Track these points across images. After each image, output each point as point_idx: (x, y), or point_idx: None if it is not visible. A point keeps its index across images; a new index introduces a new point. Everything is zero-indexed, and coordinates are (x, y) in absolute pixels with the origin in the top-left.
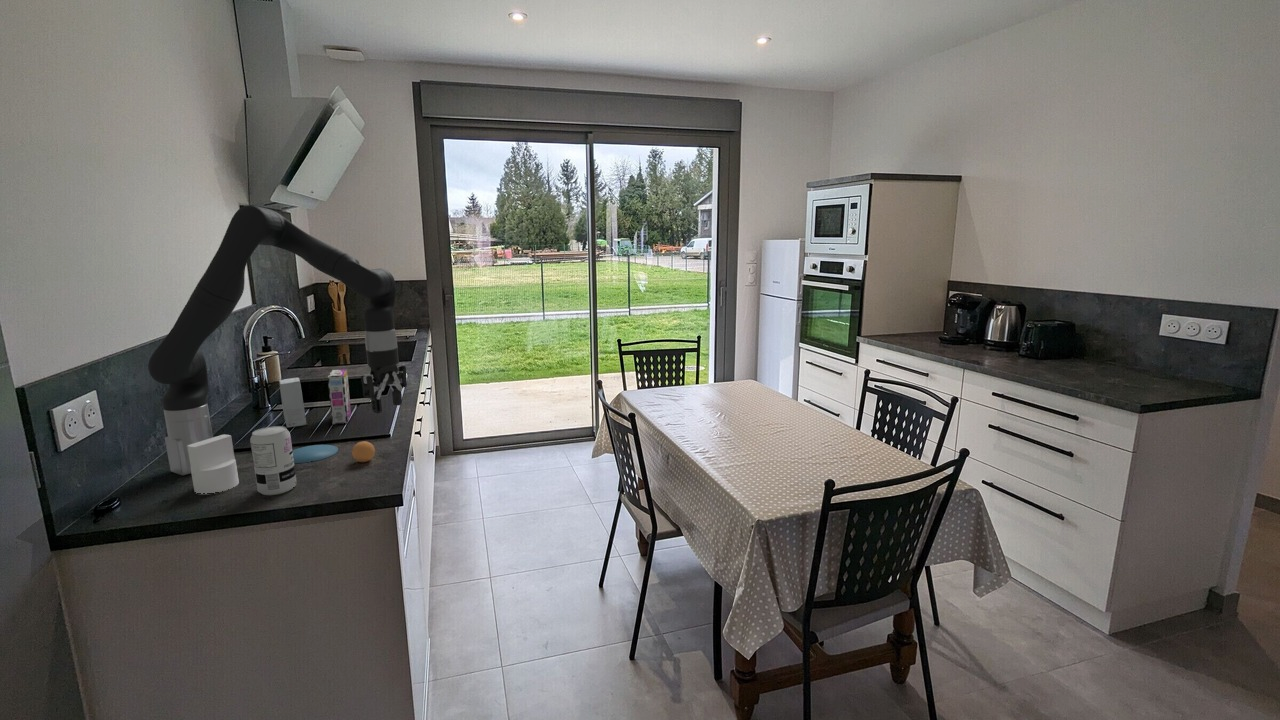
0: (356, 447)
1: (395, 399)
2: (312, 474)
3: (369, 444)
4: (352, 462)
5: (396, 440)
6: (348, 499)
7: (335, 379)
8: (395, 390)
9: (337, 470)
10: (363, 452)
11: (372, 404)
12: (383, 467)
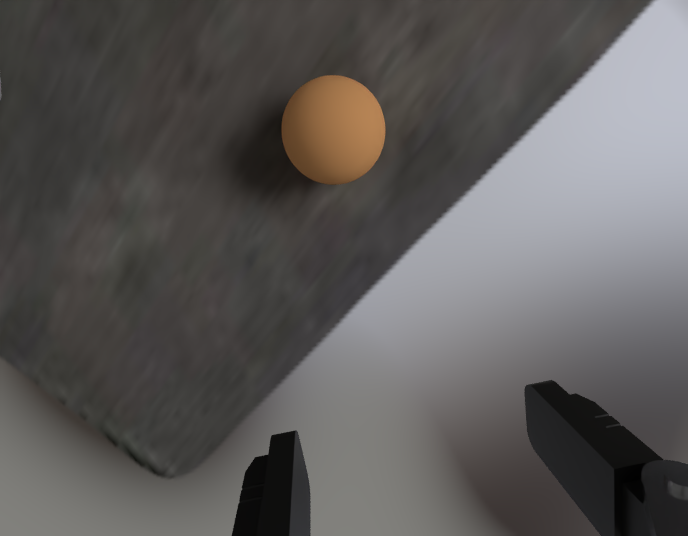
0: (293, 131)
1: (555, 440)
2: (111, 55)
3: (352, 163)
4: None
5: (594, 28)
6: (70, 403)
7: None
8: (637, 519)
9: (202, 119)
10: (304, 173)
11: (239, 522)
12: (322, 267)
